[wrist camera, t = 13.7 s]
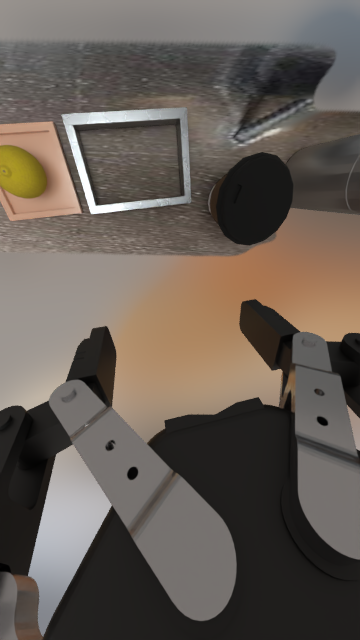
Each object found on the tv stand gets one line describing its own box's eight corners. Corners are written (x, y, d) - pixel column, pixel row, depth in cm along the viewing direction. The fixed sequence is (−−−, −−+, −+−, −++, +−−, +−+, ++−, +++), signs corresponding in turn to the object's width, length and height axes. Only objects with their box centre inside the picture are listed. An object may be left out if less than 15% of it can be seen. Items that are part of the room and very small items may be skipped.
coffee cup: (186, 222, 37) (207, 233, 27) (209, 150, 32) (245, 132, 22) (235, 240, 40) (269, 256, 31) (263, 178, 35) (313, 173, 26)
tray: (55, 124, 27) (52, 121, 26) (83, 212, 33) (81, 212, 32) (-31, 129, 26) (-38, 126, 25) (14, 220, 31) (10, 221, 30)
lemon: (1, 170, 28) (-40, 163, 21) (26, 140, 27) (-9, 123, 20) (39, 206, 31) (14, 210, 24) (62, 180, 30) (43, 177, 23)
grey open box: (182, 114, 29) (186, 107, 26) (187, 201, 35) (191, 202, 32) (67, 121, 27) (61, 114, 24) (94, 212, 33) (91, 214, 31)
